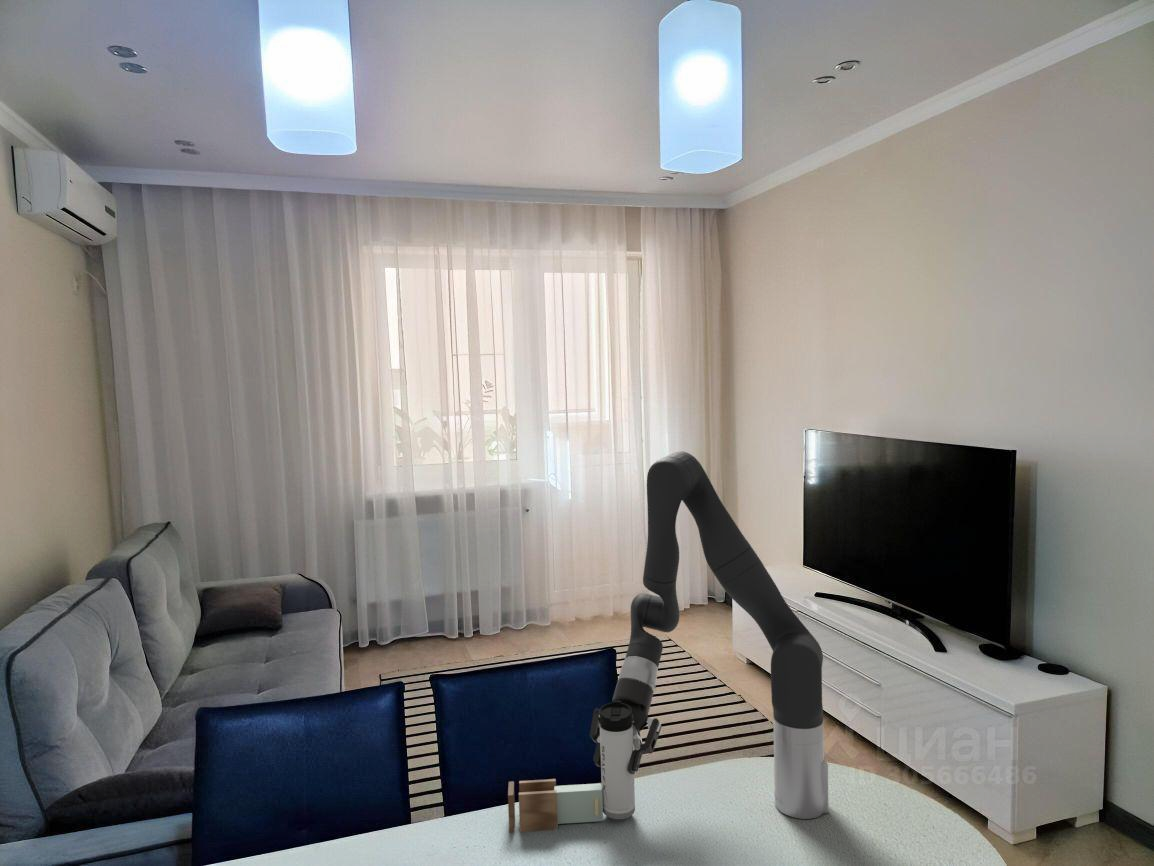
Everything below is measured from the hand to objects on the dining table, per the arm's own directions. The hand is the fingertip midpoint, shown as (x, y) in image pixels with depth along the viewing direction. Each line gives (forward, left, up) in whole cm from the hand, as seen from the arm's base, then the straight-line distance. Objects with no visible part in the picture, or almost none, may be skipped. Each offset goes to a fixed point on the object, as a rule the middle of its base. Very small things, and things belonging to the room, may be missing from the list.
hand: (614, 768), depth 138 cm
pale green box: (+7, -1, -10) cm, 12 cm away
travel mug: (-1, -2, -9) cm, 9 cm away
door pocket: (+15, -1, -10) cm, 18 cm away
